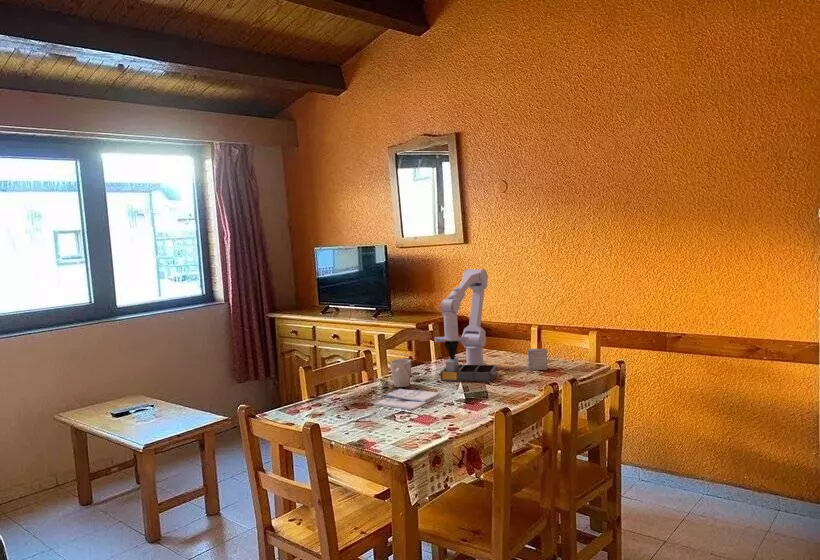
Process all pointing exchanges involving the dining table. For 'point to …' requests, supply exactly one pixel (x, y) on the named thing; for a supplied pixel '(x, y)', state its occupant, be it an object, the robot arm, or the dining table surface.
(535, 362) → the medicine box
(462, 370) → the rack
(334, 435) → the dining table surface
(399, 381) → the mug
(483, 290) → the robot arm
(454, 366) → the panel
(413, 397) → the open book
